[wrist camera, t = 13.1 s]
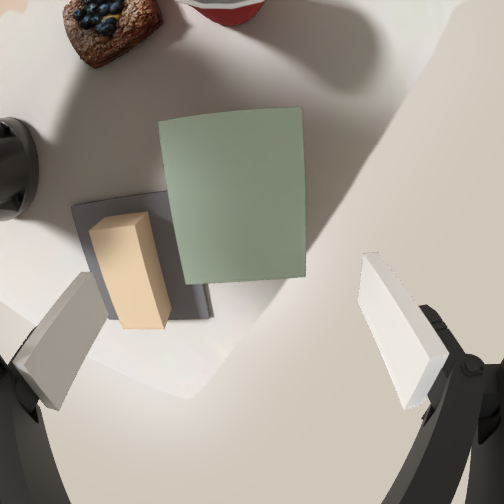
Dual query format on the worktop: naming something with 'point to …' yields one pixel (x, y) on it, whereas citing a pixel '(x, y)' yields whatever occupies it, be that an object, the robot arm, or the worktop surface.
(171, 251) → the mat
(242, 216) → the sheet
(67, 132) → the worktop surface
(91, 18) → the pastry
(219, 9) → the plastic cup
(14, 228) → the worktop surface
